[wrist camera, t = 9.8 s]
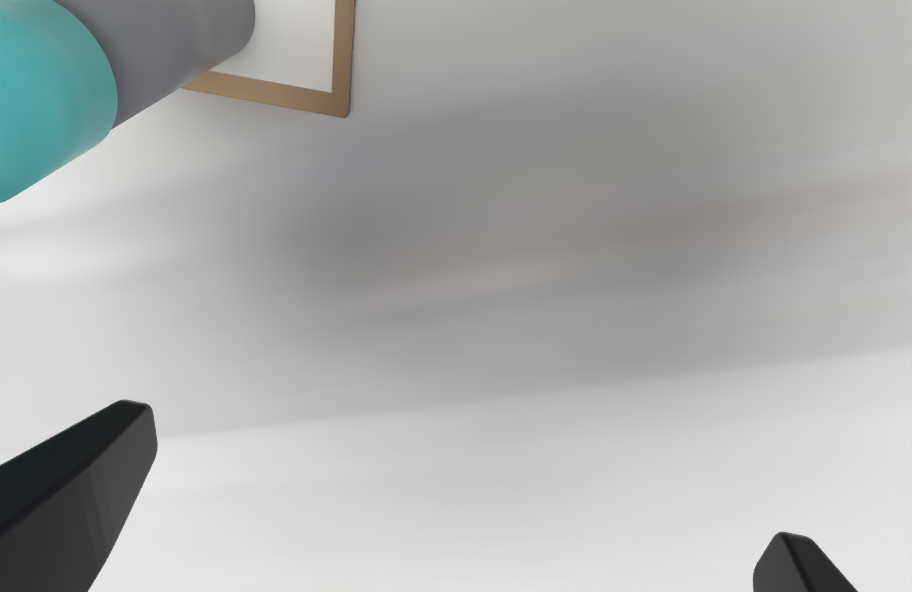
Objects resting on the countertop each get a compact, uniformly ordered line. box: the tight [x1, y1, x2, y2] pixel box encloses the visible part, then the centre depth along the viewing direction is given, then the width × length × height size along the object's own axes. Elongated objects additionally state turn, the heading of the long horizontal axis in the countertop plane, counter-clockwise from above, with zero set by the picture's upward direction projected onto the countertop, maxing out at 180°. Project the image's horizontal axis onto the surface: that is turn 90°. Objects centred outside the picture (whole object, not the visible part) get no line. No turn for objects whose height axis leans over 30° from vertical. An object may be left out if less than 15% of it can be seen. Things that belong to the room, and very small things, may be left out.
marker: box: [0, 0, 256, 203], centre depth 15 cm, size 3×3×9 cm
